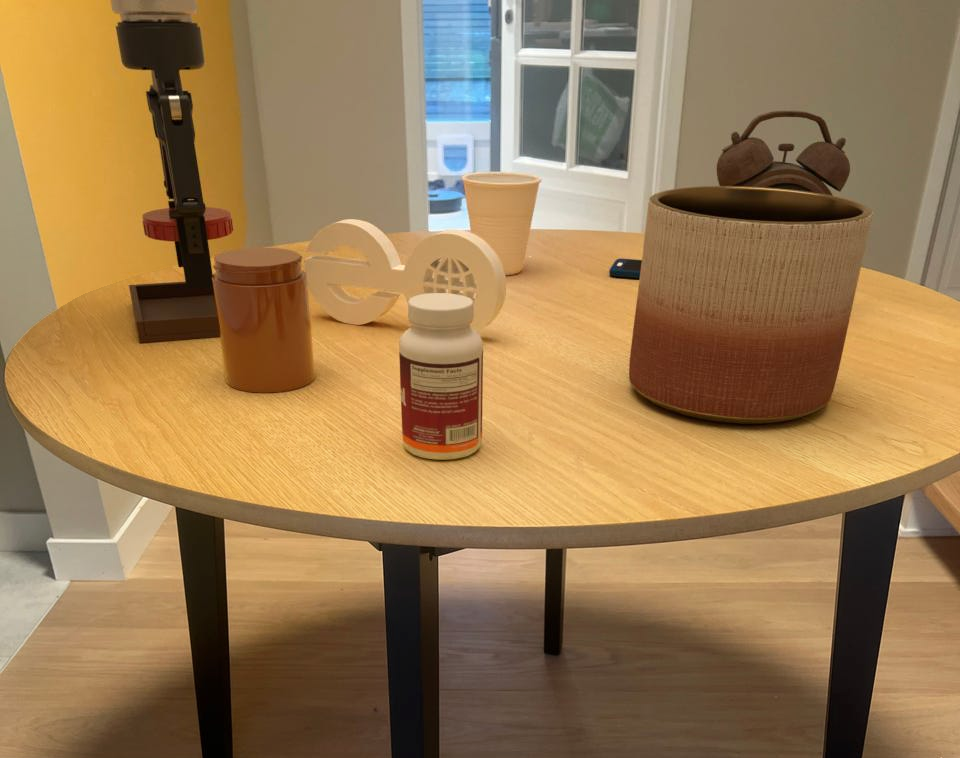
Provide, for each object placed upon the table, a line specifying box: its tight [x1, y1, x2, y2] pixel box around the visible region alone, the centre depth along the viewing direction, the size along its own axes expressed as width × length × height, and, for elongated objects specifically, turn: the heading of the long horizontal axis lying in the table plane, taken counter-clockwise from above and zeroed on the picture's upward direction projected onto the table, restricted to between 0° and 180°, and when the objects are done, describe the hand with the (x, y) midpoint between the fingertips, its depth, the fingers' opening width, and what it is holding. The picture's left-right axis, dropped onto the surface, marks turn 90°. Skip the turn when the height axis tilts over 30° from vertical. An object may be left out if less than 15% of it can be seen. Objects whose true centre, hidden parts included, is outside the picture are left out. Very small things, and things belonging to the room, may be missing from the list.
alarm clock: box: [716, 110, 851, 196], centre depth 103 cm, size 15×7×20 cm, turn 92°
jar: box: [212, 247, 316, 394], centre depth 83 cm, size 8×8×10 cm
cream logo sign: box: [304, 218, 507, 333], centre depth 97 cm, size 22×2×10 cm, turn 67°
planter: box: [628, 185, 874, 425], centre depth 80 cm, size 18×18×16 cm
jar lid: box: [141, 206, 234, 243], centre depth 96 cm, size 9×9×2 cm
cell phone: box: [608, 257, 642, 279], centre depth 121 cm, size 7×14×1 cm, turn 75°
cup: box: [461, 171, 543, 276], centre depth 119 cm, size 10×10×11 cm
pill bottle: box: [398, 292, 484, 461], centre depth 70 cm, size 6×6×11 cm
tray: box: [128, 281, 220, 344], centre depth 101 cm, size 13×15×2 cm
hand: (195, 275), depth 99 cm, fingers closed on jar lid, 9 cm apart
